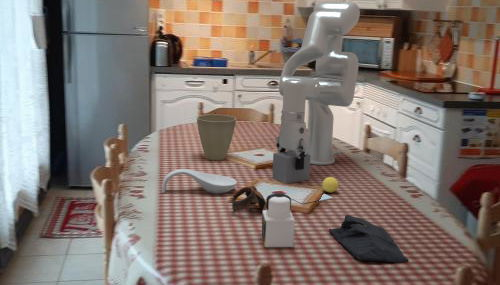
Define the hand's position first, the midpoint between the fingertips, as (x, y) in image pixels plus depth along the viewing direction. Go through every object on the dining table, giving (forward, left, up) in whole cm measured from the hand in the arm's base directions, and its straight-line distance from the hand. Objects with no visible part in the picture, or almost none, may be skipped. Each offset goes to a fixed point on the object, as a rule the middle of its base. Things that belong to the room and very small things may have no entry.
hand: (290, 166), depth 191 cm
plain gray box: (-1, 0, -5) cm, 5 cm away
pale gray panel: (+6, +18, -5) cm, 19 cm away
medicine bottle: (+35, +42, -5) cm, 55 cm away
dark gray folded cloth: (+17, +54, -6) cm, 57 cm away
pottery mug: (+29, +19, -5) cm, 35 cm away
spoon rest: (+33, -3, -5) cm, 34 cm away
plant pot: (+8, -36, -5) cm, 38 cm away
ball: (-3, +18, -2) cm, 18 cm away
